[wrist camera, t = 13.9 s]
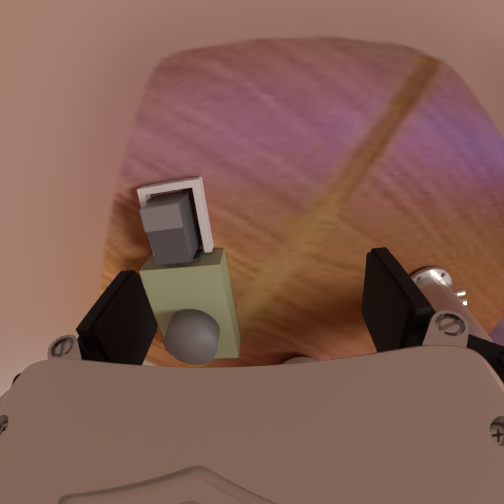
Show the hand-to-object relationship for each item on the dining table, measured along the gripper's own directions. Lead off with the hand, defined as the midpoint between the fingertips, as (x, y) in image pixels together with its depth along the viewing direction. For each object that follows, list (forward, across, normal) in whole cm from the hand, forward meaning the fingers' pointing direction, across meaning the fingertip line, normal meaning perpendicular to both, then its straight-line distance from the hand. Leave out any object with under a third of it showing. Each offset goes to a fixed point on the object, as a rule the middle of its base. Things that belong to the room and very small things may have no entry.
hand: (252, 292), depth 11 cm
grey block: (+28, +12, +6) cm, 31 cm away
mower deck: (+28, +13, +14) cm, 34 cm away
